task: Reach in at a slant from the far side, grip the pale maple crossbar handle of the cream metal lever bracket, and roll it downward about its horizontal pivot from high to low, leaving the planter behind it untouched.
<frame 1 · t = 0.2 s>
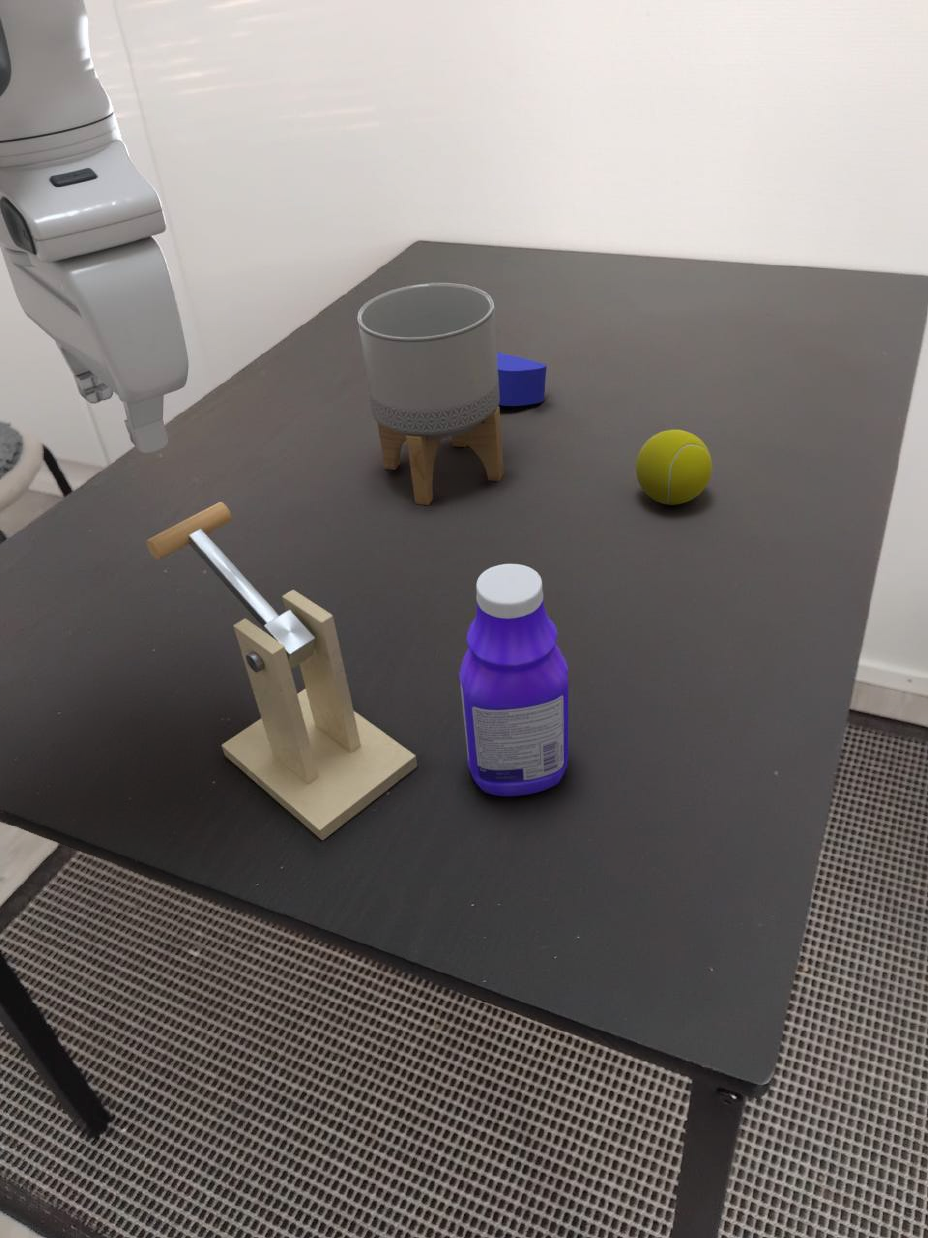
hand: (123, 421, 60), 26 cm above the table, tool pointing down, fingers open, 8 cm apart
bottle: (519, 773, 71), on the table
toy: (496, 398, 116), on the table
lever: (240, 587, 67), point 14 cm above the table, hinge at 25.0°
tennis ball: (671, 499, 96), on the table
bracket: (319, 761, 73), on the table
planter: (443, 472, 104), on the table
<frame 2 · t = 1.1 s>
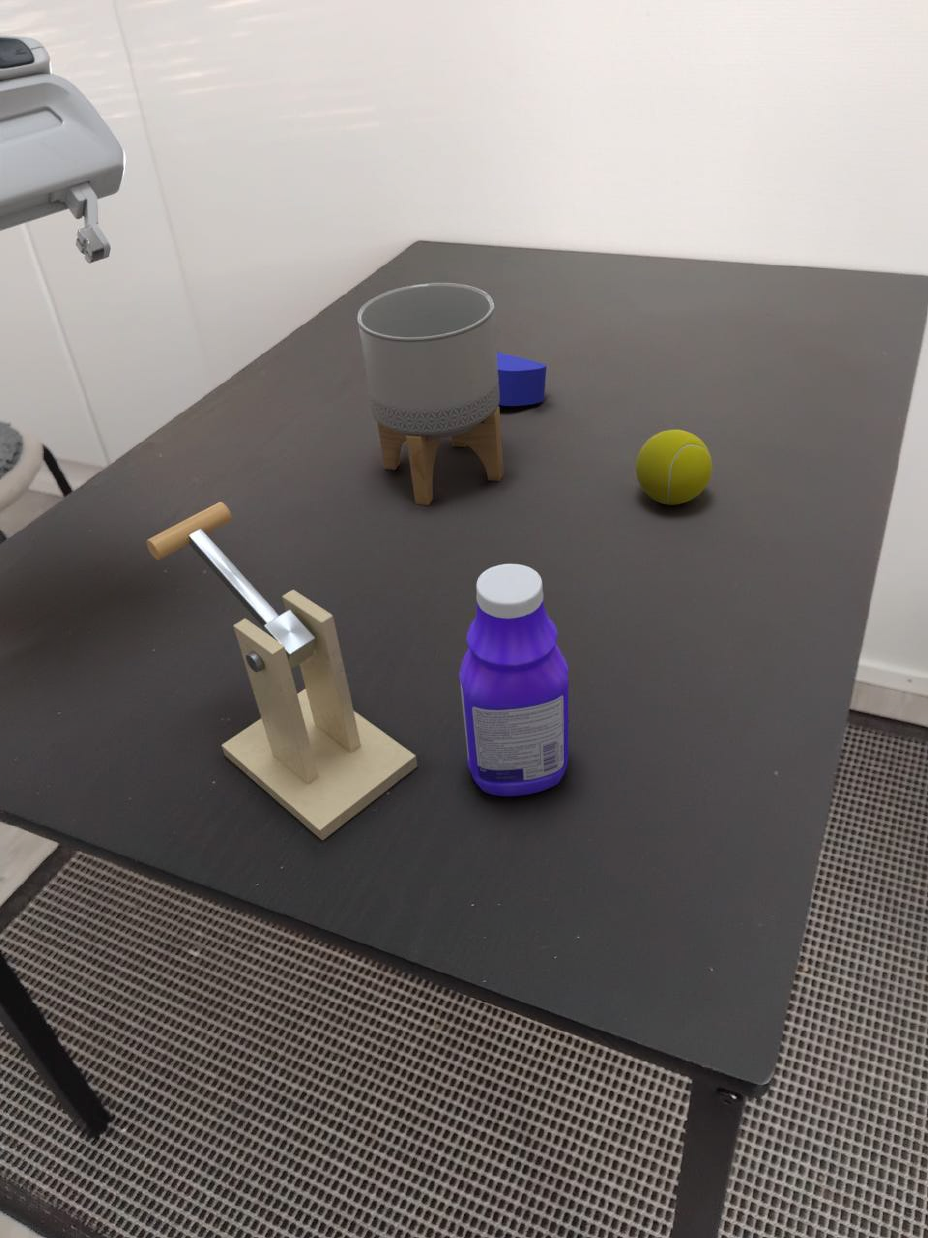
hand: (37, 278, 66), 32 cm above the table, tool tilted 45°, fingers open, 8 cm apart
nothing on the table moved.
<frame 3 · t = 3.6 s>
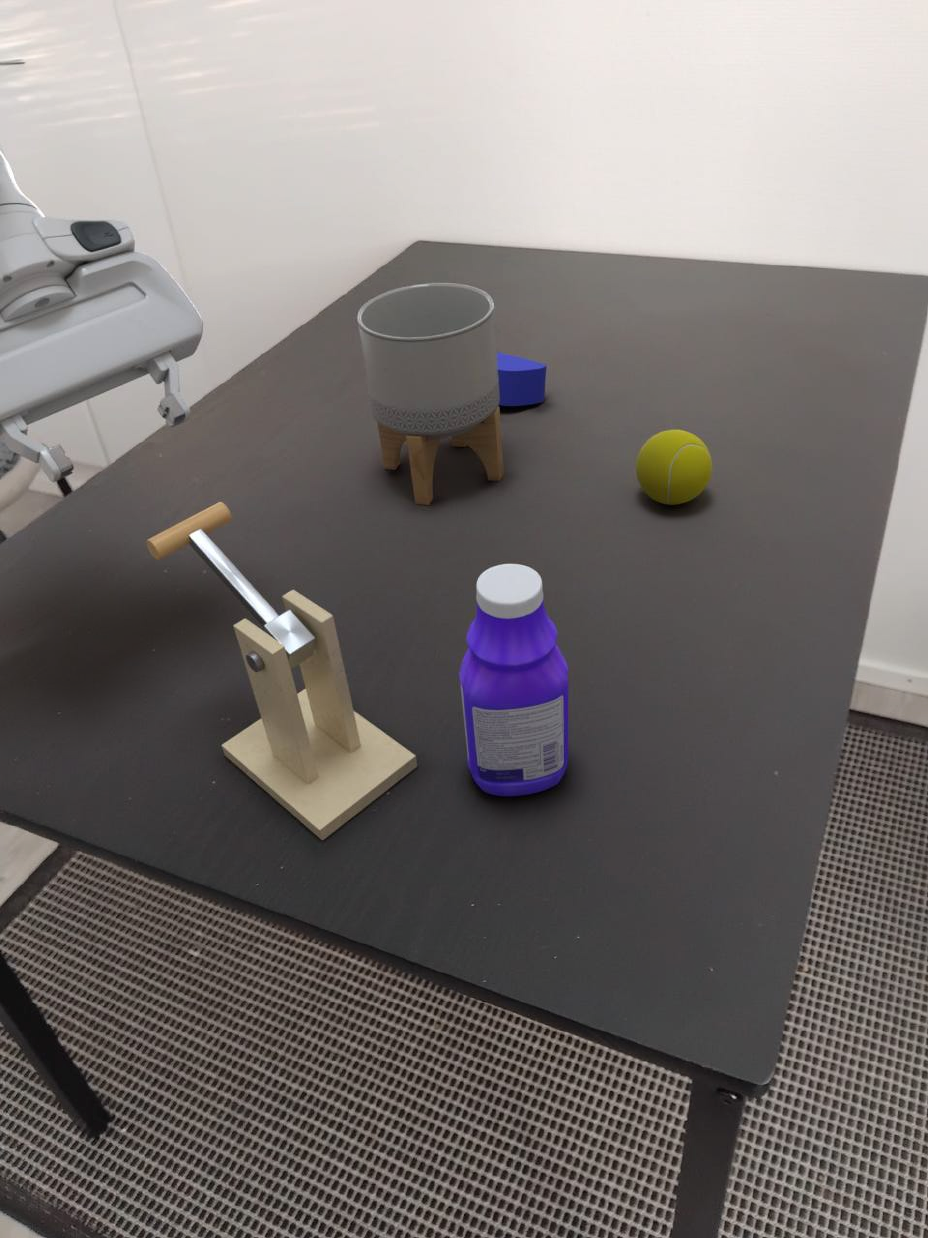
hand: (124, 447, 69), 21 cm above the table, tool tilted 45°, fingers open, 8 cm apart
nothing on the table moved.
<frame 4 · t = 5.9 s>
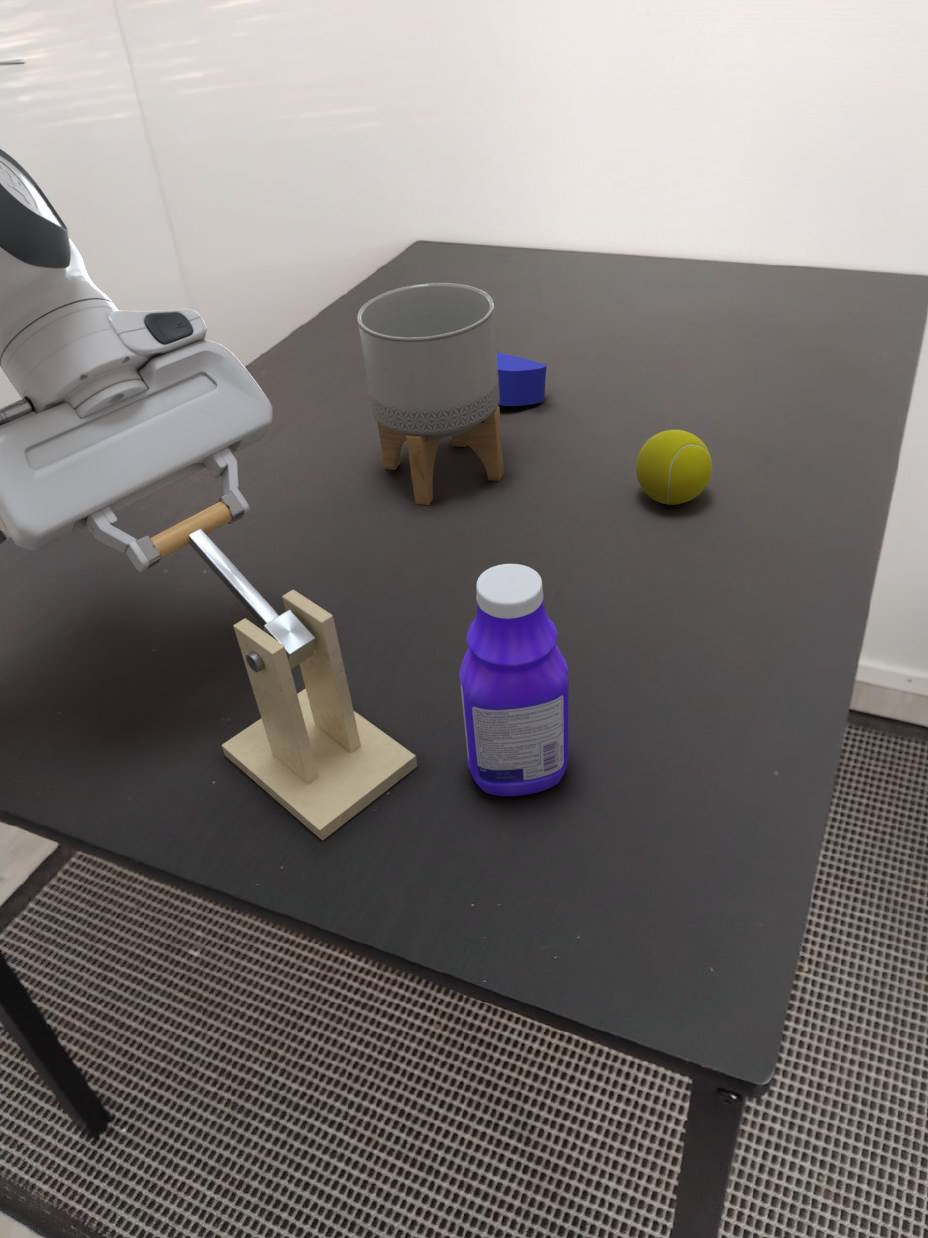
hand: (197, 540, 68), 16 cm above the table, tool tilted 45°, fingers closed on lever, 6 cm apart
lever: (240, 587, 67), point 14 cm above the table, hinge at 25.0°, touching gripper
everything else where it was.
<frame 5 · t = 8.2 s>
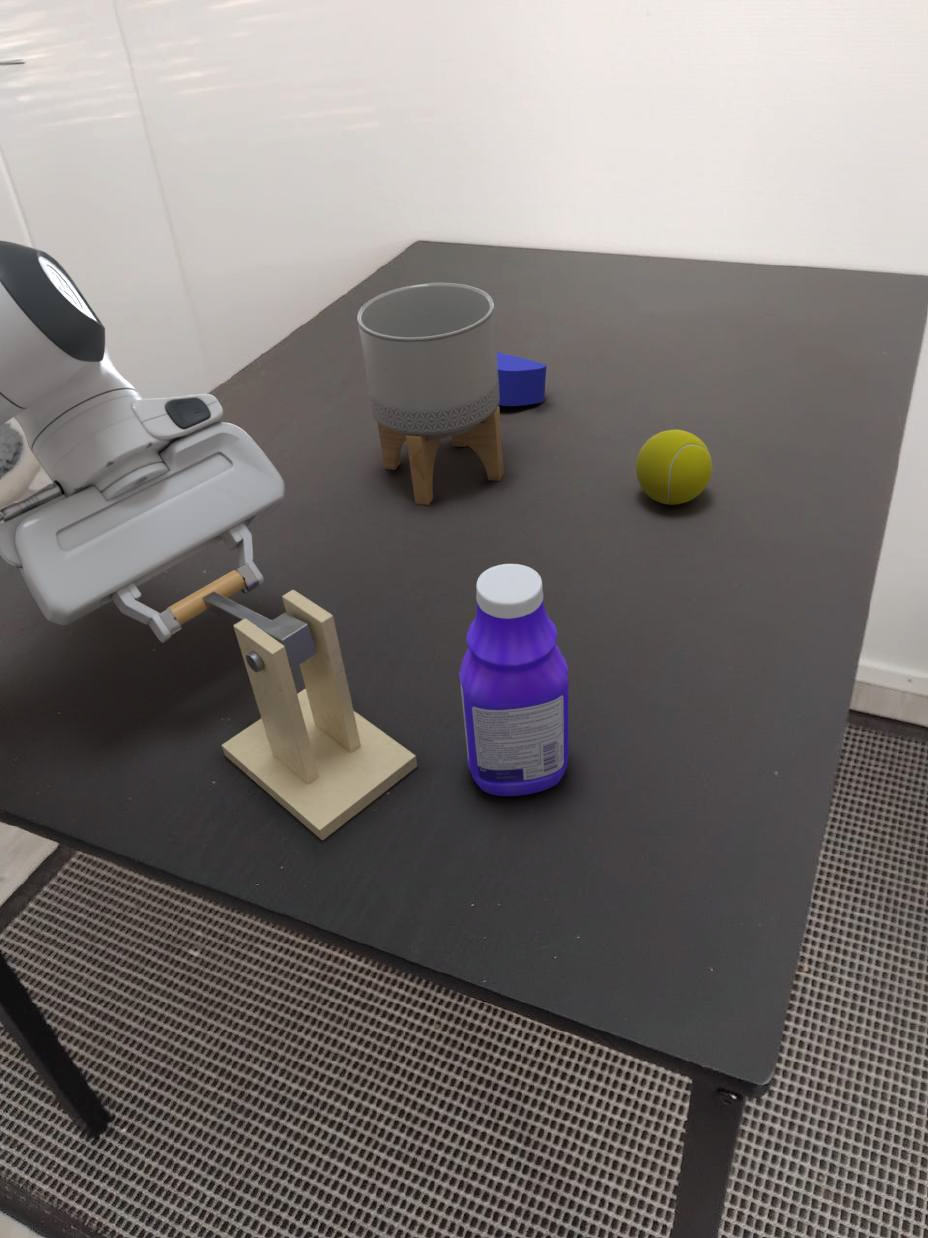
hand: (215, 611, 73), 9 cm above the table, tool tilted 45°, fingers closed on lever, 6 cm apart
lever: (247, 619, 69), point 11 cm above the table, hinge at -9.7°, touching gripper
everything else where it was.
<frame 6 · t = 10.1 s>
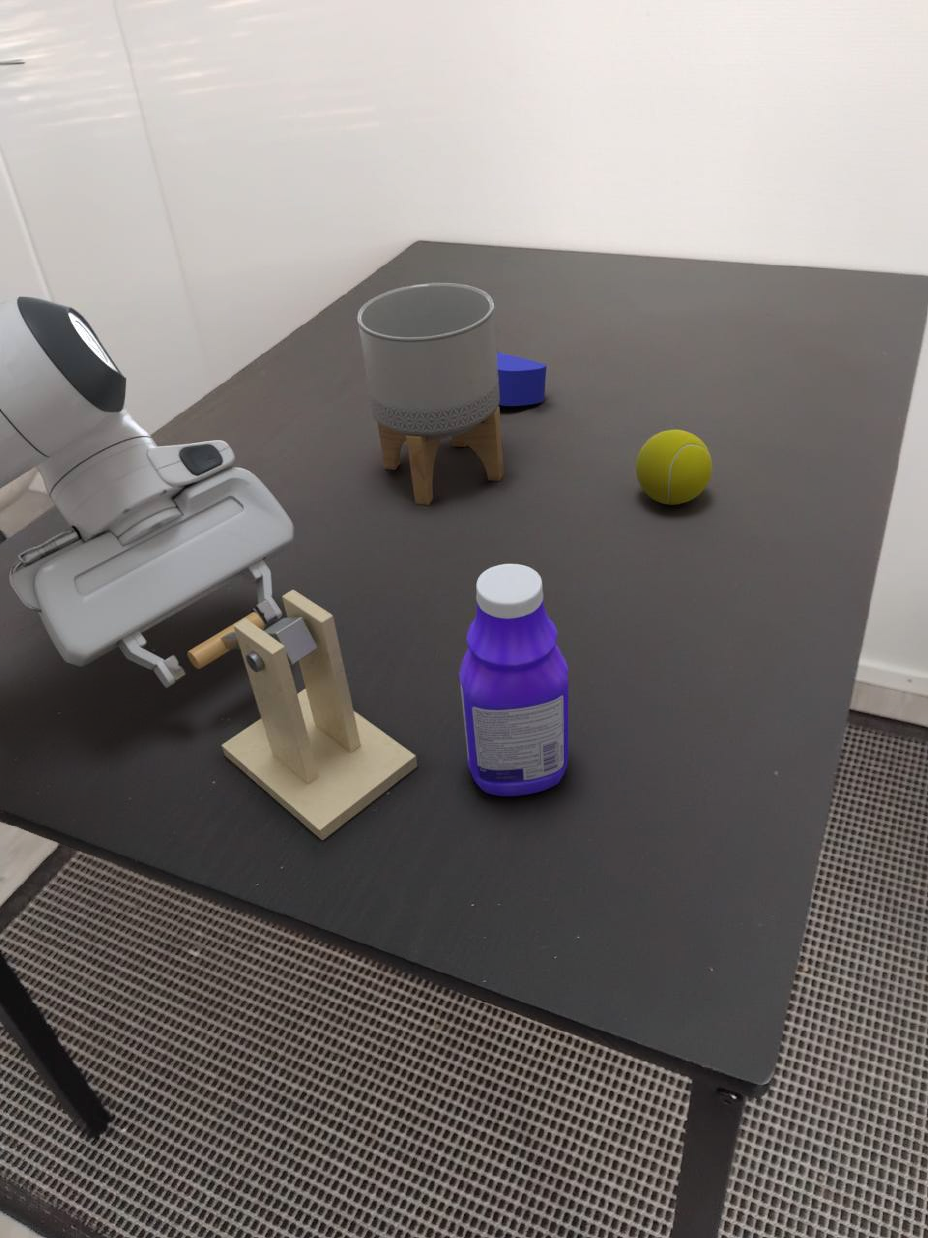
hand: (226, 651, 76), 5 cm above the table, tool tilted 45°, fingers open, 8 cm apart
lever: (257, 640, 70), point 9 cm above the table, hinge at -29.2°
everything else where it was.
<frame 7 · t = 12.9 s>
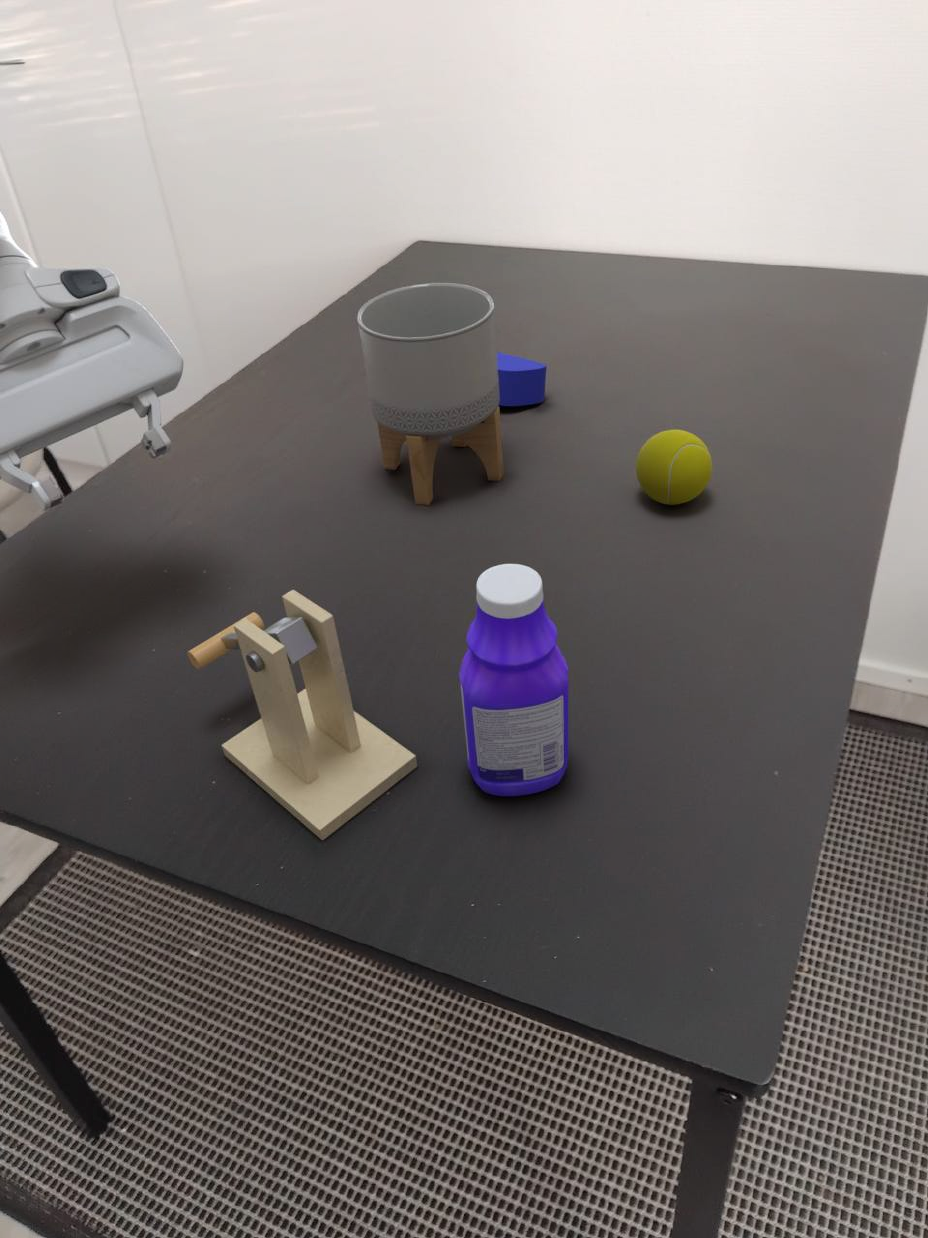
hand: (110, 477, 75), 17 cm above the table, tool tilted 45°, fingers open, 8 cm apart
nothing on the table moved.
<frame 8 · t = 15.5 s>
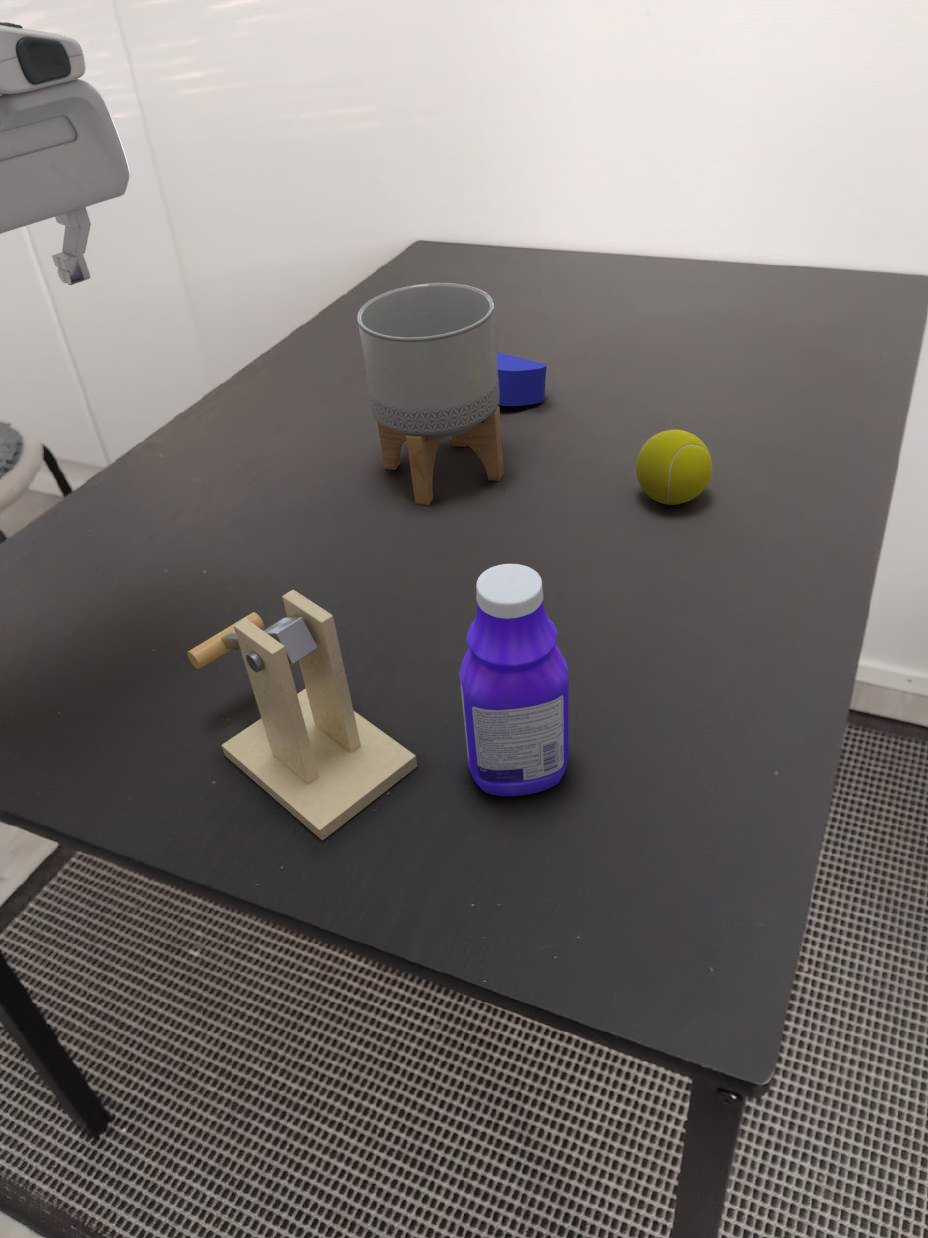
hand: (11, 303, 65), 31 cm above the table, tool pointing down, fingers open, 8 cm apart
nothing on the table moved.
at the end: lever at -29° (first picture: +25°); planter moved 0.2 cm from its start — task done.
